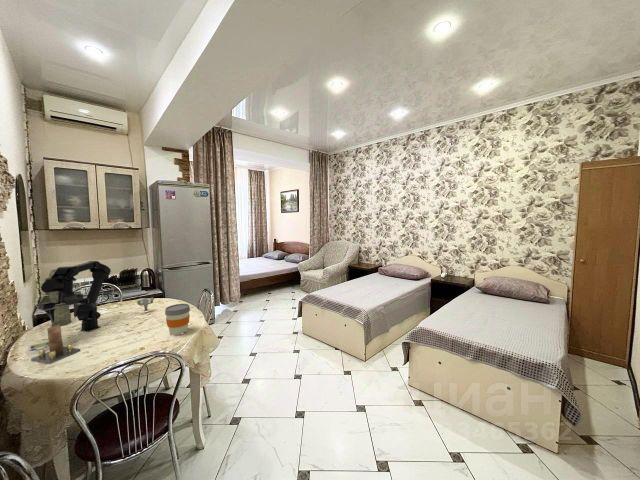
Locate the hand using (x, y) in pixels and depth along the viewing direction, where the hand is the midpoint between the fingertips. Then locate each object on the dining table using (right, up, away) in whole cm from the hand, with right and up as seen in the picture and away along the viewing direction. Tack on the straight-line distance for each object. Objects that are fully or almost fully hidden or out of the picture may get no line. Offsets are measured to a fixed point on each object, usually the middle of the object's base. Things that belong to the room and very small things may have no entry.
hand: (64, 319), depth 135 cm
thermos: (-27, -11, +25) cm, 39 cm away
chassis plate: (+10, -13, -14) cm, 21 cm away
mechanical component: (+13, -10, +44) cm, 47 cm away
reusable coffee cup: (+55, -11, +12) cm, 57 cm away
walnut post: (+10, -12, -14) cm, 21 cm away
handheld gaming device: (-7, -13, -5) cm, 16 cm away
